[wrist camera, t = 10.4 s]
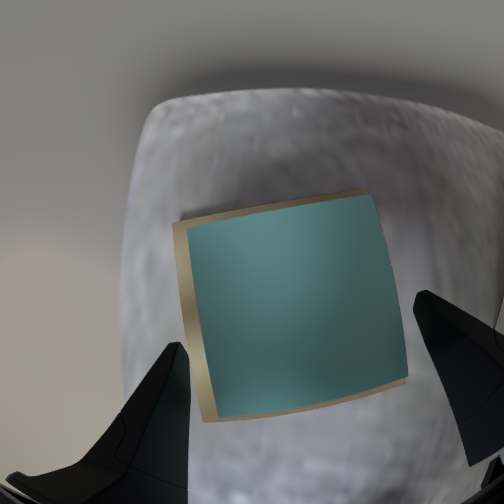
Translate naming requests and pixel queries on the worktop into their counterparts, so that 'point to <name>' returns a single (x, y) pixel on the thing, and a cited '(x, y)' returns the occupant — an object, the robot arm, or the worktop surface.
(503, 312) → the cream storage box
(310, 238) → the aqua cube
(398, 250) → the worktop surface
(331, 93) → the worktop surface
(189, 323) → the oak board
